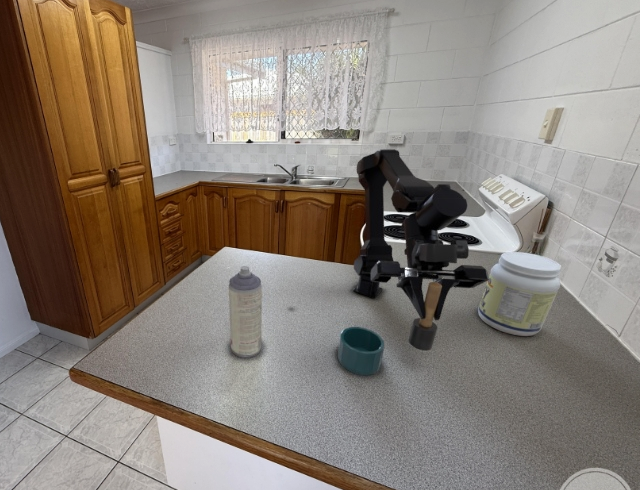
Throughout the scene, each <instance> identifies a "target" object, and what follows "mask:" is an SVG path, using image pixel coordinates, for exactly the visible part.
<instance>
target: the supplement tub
mask: <svg viewBox="0 0 640 490" xmlns="http://www.w3.org/2000/svg"><path fill="white" fill-rule="evenodd" d="M561 269H562V265H561V264H560V263H558V262H557V261H555V260H553V259H551V258H549V257H546V256H542V255H539V254H534V253H529V252H523V251H522V252H521V251H507V252H503V253H502V254H501V255H500V257H499V259H498V263H496V264H494V265H493V266H492V267H491V269H490V272H489V274H488V277H489V280H488V281H486V285H485V288H484V290H483V294H482V297H481V299H480V302H479V305H478V309H477V312H478V313H477V314H478V316H479V318H480V319H481V321H483V322H484V323H485V324H487V325H488V326H489V327H492V328H493V329H496V330H498V331H500V332H503V333H505V334H508V335H509V334H510V335H514V336H521V337H531V336H535V335H537V334H538V333H540V331H541V330H542V328H543V326H544V323H545V321H546V319H547V317H548V314H549V313H550V310H551V308H552V305H553V303H554V301H555V299H556V296H557V294H558V292H559V289H560V288H561V280H560V278H559V276H560V274H561Z"/></svg>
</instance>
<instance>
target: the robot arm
mask: <svg viewBox="0 0 640 490" xmlns="http://www.w3.org/2000/svg"><path fill="white" fill-rule="evenodd" d="M356 163H357V164H356V174H357V176H358V177H357V178H358V183H359V184H360V185H361V187H362V188H363V190H364V211H365V212H364V214H365V217H364V218H365V219H364V220H365V241H364V243H363V245H362V246H361V248H359V255H358V257H356V259H355V260H354V261H353V270H354V272H355V273H356V274H357V276H358V282H357V285H356V286H355V287H354V288H353V290H352V291H353V293H357V294H359V295H362V296H366V297H369V298H372V299H377V298H378V296H379V294H381V293H382V291H383V288H382V287H380V284H381V283H384V284H386V283H388V282H389V281H391V280H392V278H397V280H398V282H397V283H396V284H395V285H396V288H398V289H399V288H400V289H401V290H402V291H403V293H404V294H405V295H406V297H407V298H408V299H409V301H410V302H411V304H412V306H413V307H414V309H415V311H416V313H417V315H418V316H419V318H421V319H425V318H426V313H425V305H424V301H425V298H424V294H423V293H424V292H423V282H424V280H432V282H436V283H439V284H441V285H442V288H441V292H440V296H439V299H438V303H437V307H436V310H435V314H434V318H433V320H435V321H439V320H440V319H441V316H442V313H443V308H444V305H445V302H446V299H447V296H448V294H449V292H450V290H451V289H452V288H460V289H474V288H475V287H477V286H480V285H482V284H484V283H487V281H488V280H489V272H488V270H487V268H485V267H484V266H482V265H471V264H460V265H459V266H457V267H456V268H455V269H453V270H452V269H444V268H447V267H449V266H450V264H458V259H459V260H460V259H461V260H462V259H465V260H466V259H468V257H469V253H470V252H469V251H470V250H469V245H468V241H467V240H465V239H464V240H463V239H462V240H459V239H456V240H451V242H450V244H448V243H447V244H446V243H444V241H443V239H439V232H438V231H442V230H444V229H445V228H447V227H448V226H450V225H451V224H452V223H453V222H454V221H456V220H458V218H460V217H461V216H462V215H464V214H465V213H466V211H467V209H468V201H467V198H465V197H464V196H463V195H462V193H460V192H458V191H457V190H455V189H453V188H451V184H450V183H438V184H437V185H436V186H433V184H431V183H429V182H428V181H427V180H425V179H422V178H419V177H417V176H415V175H414V174H413V172H412V171H411V169H410V168H409V167H408V166H407V164H406V163H405V161H404V160H403V159H402V157H401V155H400V151H399V150H398V149H395V148H389V149H387V148H386V149H378V150H376V151H375V152H373V153H371V154H368V155H365V156H363V157H362V158H361V159H359V160H358V162H356ZM387 182H388V184H389V186H390V187H391V189H392V191H393V192H392V195H391V198H390V199H391V203H392V206H393V208H394V210H395V211H396V212H397V213H410V214H409V215H408V216H406V217H405V219H403V221H402V223H401V225H400V229H401V230H404V239H405V249H404V255H405V256H406V263H407V267H401V264H400V262H399V261H398V260H394V257H393V247H392V245H391V244H388V242H387V241H386V239H385V205H384V204H385V201H384V200H385V199H384V187H385V184H387Z"/></svg>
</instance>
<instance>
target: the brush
mask: <svg viewBox="0 0 640 490" xmlns="http://www.w3.org/2000/svg"><path fill="white" fill-rule="evenodd" d="M441 288H442V285H441V284H439V283H436V282H433V281H431V282H429V283H428V285H427V289H426V294H425V298H424V305H425V313H426V318H425V319H421V318H420V317H418V318H417V317H416V318H414V319H413V321H412V324H411V327H410V328H411V329H410V332H409V336H408V343H409V345H410V346H412V347H413V348H414V349H417V350H420V351H430V350H431V349H432V348H433V345H434V342H435V338H436V335H437V331H438V325H437V324H436V323H435V322H434V314H435V310H436V307H437V303H438V299H439V296H440V292H441Z"/></svg>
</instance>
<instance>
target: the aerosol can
mask: <svg viewBox="0 0 640 490" xmlns="http://www.w3.org/2000/svg"><path fill="white" fill-rule="evenodd" d="M262 292H263V286H262V280H261V278H260V277H259V276H257V275H256V274H254V273H253V272H252V271H250V267H249V266H248V265H243V266H240V271H239V272H237V273H236V274H235V275H233V276H232V277H231V278H230V279H229V280H228V307H229V308H228V309H229V330H230V331H229V333H230V350H231V352H232V353H233V355H234V356H236V357H238V358H241V359H242V358H243V359H251V358H254V357H256V356H257V355H259V354H260V352H261V351H262V307H263V306H262V305H263V303H262V302H263V300H262V297H263V296H262V295H263V293H262Z"/></svg>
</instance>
